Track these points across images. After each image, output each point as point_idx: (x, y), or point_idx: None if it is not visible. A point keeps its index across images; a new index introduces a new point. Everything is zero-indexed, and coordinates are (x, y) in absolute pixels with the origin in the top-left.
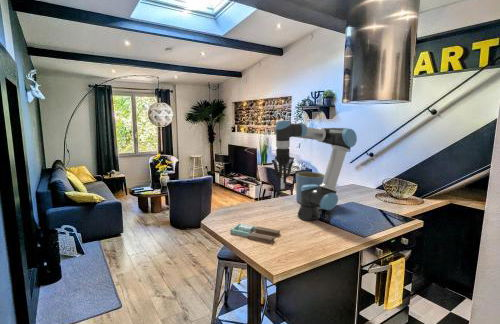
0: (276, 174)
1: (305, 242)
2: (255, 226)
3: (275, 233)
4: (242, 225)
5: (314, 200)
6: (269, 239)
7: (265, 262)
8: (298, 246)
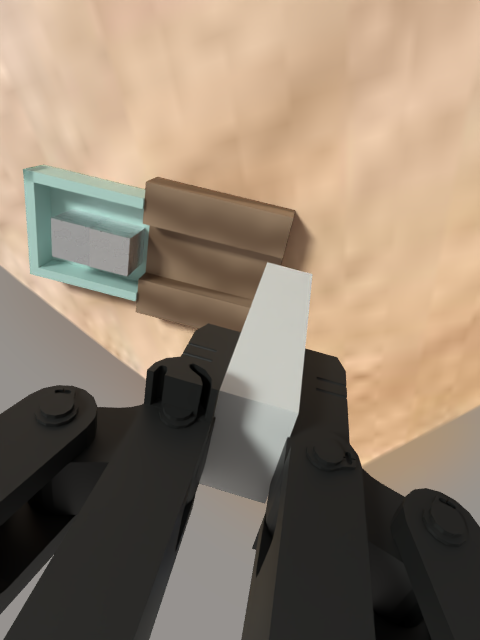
0: (32, 517)
1: (446, 272)
2: (134, 197)
3: (271, 253)
4: (65, 237)
5: None
6: None
7: None
8: (399, 322)
